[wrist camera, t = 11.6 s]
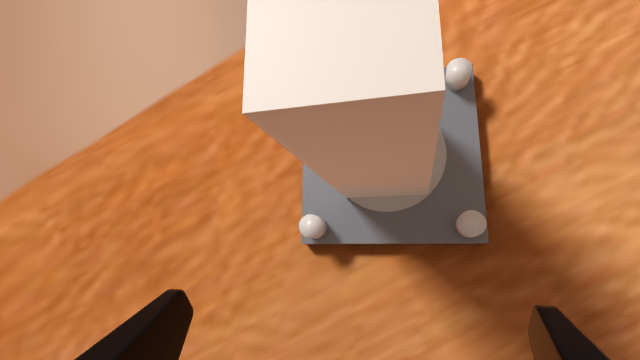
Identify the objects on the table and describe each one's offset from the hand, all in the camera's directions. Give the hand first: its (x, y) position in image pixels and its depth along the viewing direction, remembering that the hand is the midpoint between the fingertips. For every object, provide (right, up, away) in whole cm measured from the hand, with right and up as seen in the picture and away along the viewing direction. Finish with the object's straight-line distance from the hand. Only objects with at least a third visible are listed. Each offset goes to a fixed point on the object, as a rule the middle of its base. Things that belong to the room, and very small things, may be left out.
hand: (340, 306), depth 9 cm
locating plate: (+4, +5, +14) cm, 15 cm away
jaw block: (+4, +5, +13) cm, 14 cm away
